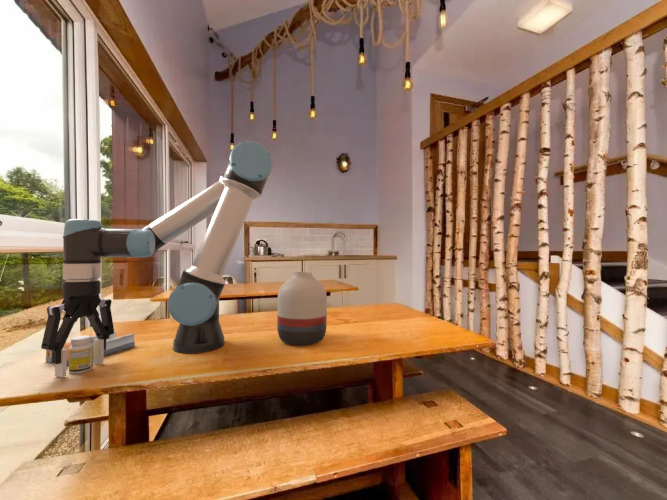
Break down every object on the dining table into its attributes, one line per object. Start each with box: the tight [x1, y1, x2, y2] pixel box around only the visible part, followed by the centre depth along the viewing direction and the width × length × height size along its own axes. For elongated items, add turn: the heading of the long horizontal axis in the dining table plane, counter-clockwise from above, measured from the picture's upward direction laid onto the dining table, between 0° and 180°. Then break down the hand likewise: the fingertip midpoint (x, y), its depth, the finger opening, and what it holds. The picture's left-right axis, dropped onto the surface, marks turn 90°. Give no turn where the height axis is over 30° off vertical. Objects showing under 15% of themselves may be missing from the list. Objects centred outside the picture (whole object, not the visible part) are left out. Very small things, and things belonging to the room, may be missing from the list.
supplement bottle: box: [68, 334, 94, 375], centre depth 77 cm, size 5×5×8 cm
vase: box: [276, 271, 328, 347], centre depth 105 cm, size 17×17×24 cm
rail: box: [45, 331, 136, 367], centre depth 90 cm, size 10×18×6 cm, turn 163°
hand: (80, 369), depth 77 cm, fingers open, 8 cm apart
